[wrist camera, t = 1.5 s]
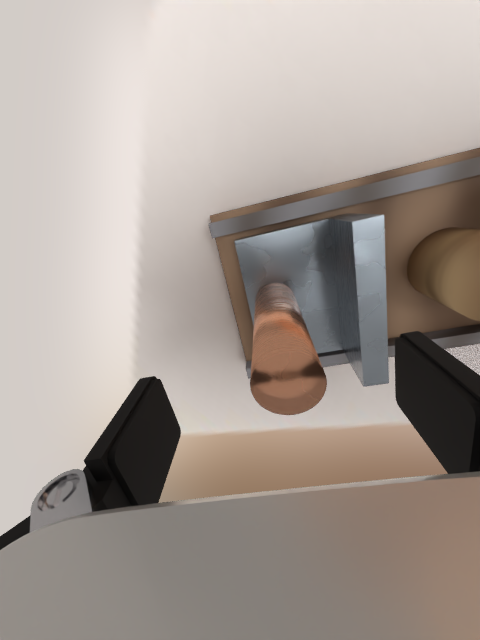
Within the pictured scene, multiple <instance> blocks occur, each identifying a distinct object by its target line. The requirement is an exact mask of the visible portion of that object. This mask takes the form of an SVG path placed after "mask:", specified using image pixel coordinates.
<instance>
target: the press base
mask: <svg viewBox="0 0 480 640" xmlns="http://www.w3.org/2000/svg"><path fill="white" fill-rule="evenodd" d="M346 213H355V214H379V215H384V227H385V264H386V300H387V337H388V357H394V356H395V339H396V338H399V336H400V334H402V333H408V332H414V331H419V332H421V333H422V334H424V335H425V336H427V337H428V338H429V339H431V340H432V341H433V342H435V343H436V344H437V345H439V346H440V347H441V348H443V349H447V348H453V347H460V346H467V345H473V344H480V321H477V320H473V319H470V318H468V317H466V316H464V315H462V314H460V313H458V312H456V311H454V310H452V309H450V308H448V307H446V306H445V305H443V304H441V303H439V302H437V301H435V300H433V299H431V298H429V297H427V296H425V295H424V294H422V293H420V292H418V291H417V290H415V289H414V288H413V287H412V285H411V284H410V282H409V279H408V276H407V265H408V261H409V258H410V256H411V254H412V252H413V250H414V249H415V247H416V246H417V245H418V244H419V243H420V242H421V241H422V240H423V239H424V238H425V237H427V236H428V235H430V234H432V233H433V232H435V231H438V230H441V229H444V228H450V227H457V228H468V229H479V230H480V148H477V149H473V150H469V151H465V152H461V153H457V154H453V155H449V156H445V157H441V158H437V159H433V160H429V161H425V162H421V163H417V164H413V165H409V166H405V167H401V168H398V169H394V170H390V171H386V172H382V173H378V174H374V175H370V176H366V177H362V178H358V179H354V180H350V181H346V182H342V183H338V184H334V185H330V186H326V187H322V188H318V189H314V190H310V191H306V192H302V193H298V194H294V195H290V196H286V197H282V198H278V199H274V200H270V201H266V202H262V203H259V204H255V205H251V206H247V207H243V208H239V209H235V210H231V211H227V212H223V213H219V214H215V215H211V216H210V219H211V223H209V228H210V232H211V235H212V238H215V239H216V243H217V247H218V251H219V255H220V259H221V263H222V266H223V270H224V274H225V278H226V282H227V286H228V290H229V294H230V298H231V302H232V306H233V310H234V314H235V318H236V322H237V326H238V329H239V333H240V337H241V341H242V345H243V349H244V353H245V357H246V361H247V362H246V371H247V375H248V378H251V364H252V347H253V331H254V325H253V321H252V317H251V312H250V308H249V304H248V299H247V295H246V290H245V286H244V282H243V277H242V273H241V269H240V264H239V260H238V256H237V251H236V247H235V243H234V241H235V239H239V238H243V237H247V236H252V235H256V234H260V233H265V232H269V231H273V230H277V229H282V228H286V227H290V226H294V225H299V224H303V223H307V222H312V221H316V220H320V219H324V218H329V217H333V216H337V215H341V214H346ZM317 355H318V357H319V360H320V363H321V365H322V367H327V366H334V365H341V364H347V363H350V362H349V360H348V359H347V357H346V355H345V354H344V352H343V350H336V351H330V352H324V353H317Z"/></svg>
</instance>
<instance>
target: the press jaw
mask: <svg viewBox="0 0 480 640" xmlns="http://www.w3.org/2000/svg"><path fill="white" fill-rule="evenodd" d="M234 243H235V247H236V251H237V256H238V260H239V264H240V269H241V273H242V277H243V282H244V286H245V290H246V295H247V299H248V304H249V308H250V312H251V317H252V321H253V325H254V331H253V347H252V364H251V380H250V387H251V392H252V395H253V396H254V398H255V400H256V401H257V402H258V403H259V404H260V405H261V406H262V407H263V408H265V409H267V410H269V411H271V412H273V413H277V414H282V415H294V414H299V413H303V412H305V411H308V410H309V409H311V408H313V407H314V406H315V405H316V404H318V403H319V401H320V400H321V399H322V397H323V396H324V393H325V391H326V385H327V380H326V375H325V373H324V370H323V368H322V365H321V363H320V360H319V357H318V355H317V353H324V352H330V351H336V350H343V352H344V354H345V355H346V357H347V359H348V360H349V362H350V364H351V366H352V367H353V369H354V371H355V373H356V374H357V376H358V378H359V379H360V381H361V383H362V385H363V386H372V385H379V384H386V383H389V373H388V337H387V300H386V264H385V227H384V215H379V214H355V213H346V214H341V215H337V216H333V217H329V218H324V219H320V220H316V221H312V222H307V223H303V224H299V225H294V226H290V227H286V228H282V229H277V230H273V231H269V232H265V233H260V234H256V235H252V236H247V237H243V238H239V239H235V241H234Z"/></svg>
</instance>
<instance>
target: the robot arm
mask: <svg viewBox="0 0 480 640" xmlns="http://www.w3.org/2000/svg"><path fill="white" fill-rule="evenodd" d="M395 387H396V401H397V403H398V405H399V407H400V408H401V410H402V411H403V413H404V414H405V415H406V417H407V418H408V419H409V421H410V422H411V423H412V425H413V426H414V428H415V429H416V430H417V432H418V433H419V434H420V436H421V437H422V438H423V440H424V441H425V442H426V444H427V445H428V447H429V448H430V449H431V451H432V452H433V453H434V455H435V456H436V458H437V459H438V460H439V462H440V463H441V464H442V466H443V467H444V468H445V470H446V471H447V473H448V474H443V475H429V476H417V477H406V478H396V479H386V480H376V481H365V482H355V483H345V484H335V485H324V486H314V487H305V488H295V489H285V490H275V491H266V492H256V493H246V494H237V495H228V496H218V497H209V498H200V499H191V500H181V501H172V502H163V503H158V502H159V499H160V496H161V493H162V490H163V487H164V483H165V481H166V478H167V474H168V472H169V469H170V466H171V463H172V459H173V457H174V454H175V451H176V448H177V444H178V441H179V439H180V434H181V430H180V426H179V424H178V421H177V419H176V416H175V414H174V411H173V409H172V406H171V404H170V402H169V399H168V397H167V394H166V392H165V389H164V387H163V384H162V382H161V380H160V379H157V378H156V377H154V376H152V377H146V378H141V379H140V380H139V381H138V382H137V384H136V385H135V387H134V388H133V390H132V391H131V392H130V394H129V395H128V397H127V398H126V400H125V401H124V403H123V404H122V406H121V407H120V409H119V410H118V411H117V413H116V414H115V416H114V417H113V419H112V421H111V422H110V423H109V425H108V426H107V427H106V429H105V430H104V432H103V434H102V435H101V436H100V438H99V439H98V441H97V442H96V444H95V445H94V446H93V448H92V449H91V451H90V452H89V454H88V455H87V457H86V458H85V460H84V462H85V464H86V467H85V468H84V470H83V471H82V470H79V469H73V470H70V471H67V472H64V473H62V474H60V475H58V476H57V477H56V478H54V479H53V480H51V481H50V482H49V483H48V484H47V485H46V486H44V487H43V488H42V490H41V491H40V492H39V493H38V495H37V496H36V498H35V499H34V501H33V503H32V507H31V515H30V516H29V517H28V518H26V519H25V520H23V521H22V522H20V523H19V524H17V525H16V526H15V527H13V528H12V529H10V530H9V531H8V532H6V533H5V534H3V535H2V536H0V640H480V376H479V375H478V374H477V373H475V372H474V371H473V370H471V369H470V368H469V367H467V366H466V365H465V364H463V363H462V362H460V361H459V360H458V359H456V358H455V357H454V356H452V355H451V354H450V353H448V352H447V351H446V350H444V349H443V348H441V347H440V346H439V345H437V344H436V343H435V342H433V341H432V340H431V339H429V338H428V337H427V336H425V335H424V334H422V333H421V332H419V331H414V332H408V333H402V334H400V336H399V338H396V339H395Z"/></svg>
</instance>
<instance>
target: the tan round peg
mask: <svg viewBox="0 0 480 640" xmlns="http://www.w3.org/2000/svg"><path fill="white" fill-rule="evenodd" d="M407 276H408V279H409V282H410V284H411V285H412V287H413V288H414V289H415V290H417V291H418V292H420V293H422V294H424V295H425V296H427V297H429V298H431V299H433V300H435V301H437V302H439V303H441V304H443V305H445V306H446V307H448V308H450V309H452V310H454V311H456V312H458V313H460V314H462V315H464V316H466V317H468V318H470V319H473V320H477V321H480V230H479V229H468V228H457V227H450V228H444V229H441V230H438V231H435V232H433V233H432V234H430V235H428V236H427V237H425V238H424V239H423V240H422V241H421V242H420V243H419V244H418V245H417V246H416V247H415V249H414V250H413V252H412V254H411V256H410V258H409V261H408V265H407Z"/></svg>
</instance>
